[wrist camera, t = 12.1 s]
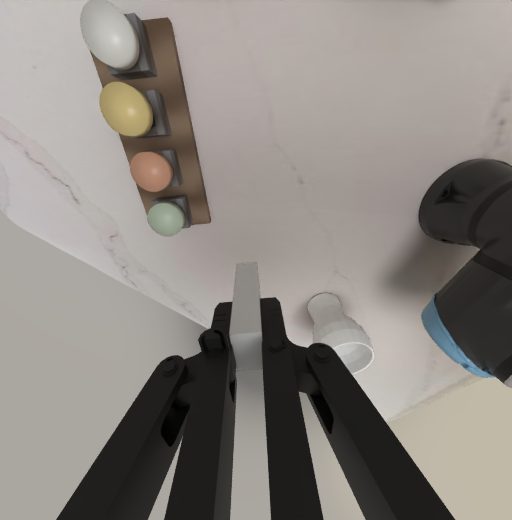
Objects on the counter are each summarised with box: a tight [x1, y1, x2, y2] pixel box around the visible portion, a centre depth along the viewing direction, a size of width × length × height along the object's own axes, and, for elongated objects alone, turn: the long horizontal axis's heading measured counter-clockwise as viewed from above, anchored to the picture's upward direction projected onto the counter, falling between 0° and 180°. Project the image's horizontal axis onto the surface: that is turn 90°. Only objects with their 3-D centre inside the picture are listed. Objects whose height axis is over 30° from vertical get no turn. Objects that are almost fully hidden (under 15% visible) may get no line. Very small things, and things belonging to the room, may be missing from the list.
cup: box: [307, 293, 374, 374], centre depth 45 cm, size 11×11×15 cm
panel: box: [90, 13, 211, 228], centre depth 33 cm, size 27×11×4 cm, turn 5°
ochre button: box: [100, 82, 155, 136], centre depth 27 cm, size 5×5×5 cm
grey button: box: [80, 0, 140, 70], centre depth 25 cm, size 5×5×5 cm
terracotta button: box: [130, 151, 173, 192], centre depth 32 cm, size 5×5×5 cm
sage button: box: [147, 201, 185, 236], centre depth 35 cm, size 5×5×5 cm
